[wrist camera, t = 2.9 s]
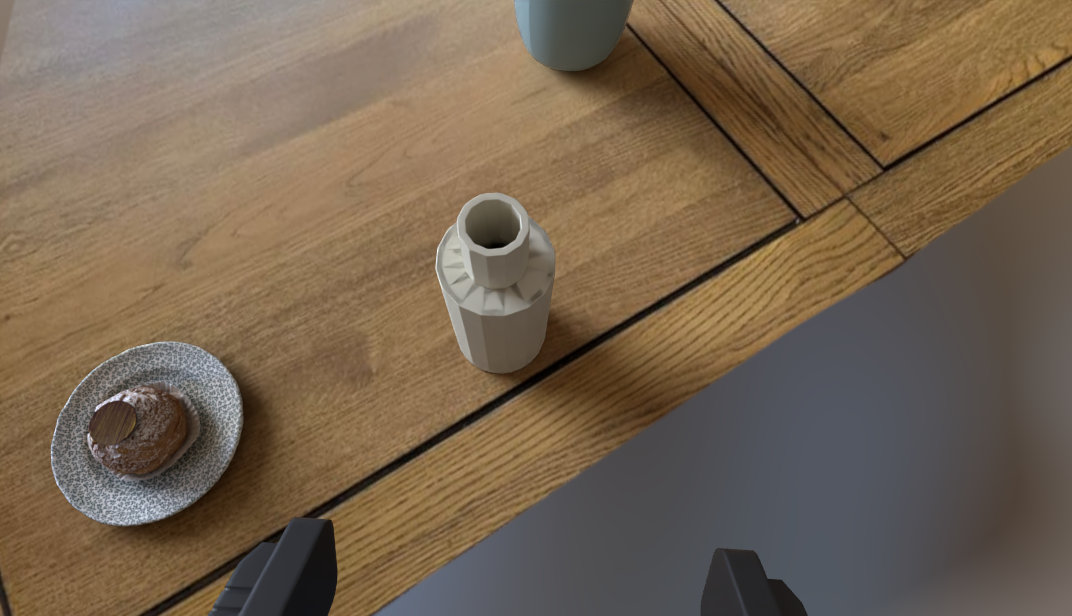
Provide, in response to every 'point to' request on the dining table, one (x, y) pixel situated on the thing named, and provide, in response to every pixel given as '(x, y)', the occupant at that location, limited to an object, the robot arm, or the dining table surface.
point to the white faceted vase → (497, 282)
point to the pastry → (147, 433)
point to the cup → (571, 30)
